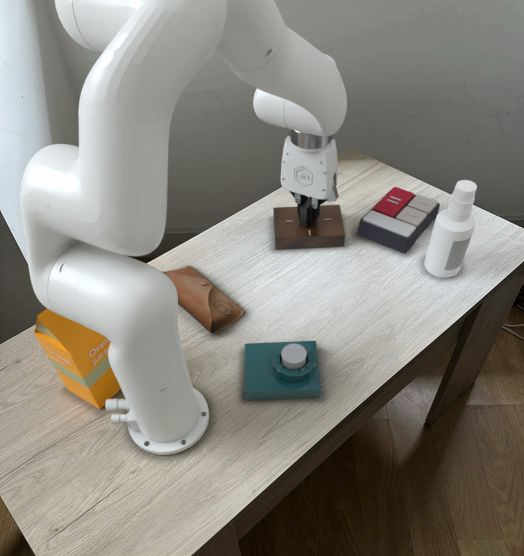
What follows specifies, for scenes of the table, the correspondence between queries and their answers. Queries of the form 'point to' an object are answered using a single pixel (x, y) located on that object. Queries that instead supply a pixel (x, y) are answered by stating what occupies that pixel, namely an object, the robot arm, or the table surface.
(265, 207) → the table surface
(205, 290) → the sunglasses case
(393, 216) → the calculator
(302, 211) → the dial
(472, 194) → the spray bottle
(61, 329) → the orange juice
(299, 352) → the grey cylindrical knob
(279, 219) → the selector
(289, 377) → the grey cylindrical knob base
